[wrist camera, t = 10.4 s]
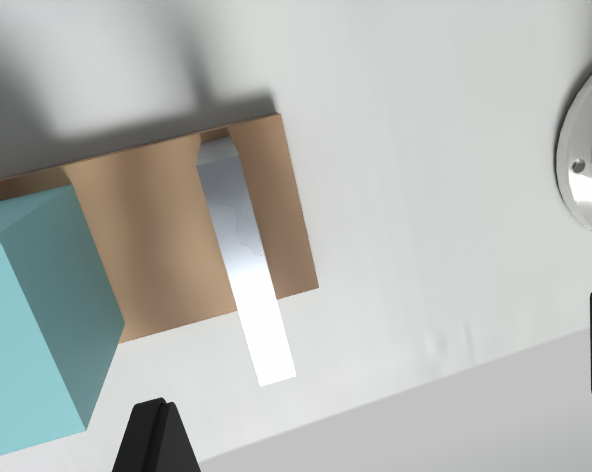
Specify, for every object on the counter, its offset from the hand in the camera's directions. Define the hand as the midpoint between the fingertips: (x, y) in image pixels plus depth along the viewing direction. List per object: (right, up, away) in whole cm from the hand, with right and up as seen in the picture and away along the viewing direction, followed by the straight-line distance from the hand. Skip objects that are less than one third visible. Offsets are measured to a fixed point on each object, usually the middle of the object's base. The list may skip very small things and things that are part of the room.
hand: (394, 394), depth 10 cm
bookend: (-5, +4, +14) cm, 16 cm away
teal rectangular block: (-14, +2, +14) cm, 20 cm away
